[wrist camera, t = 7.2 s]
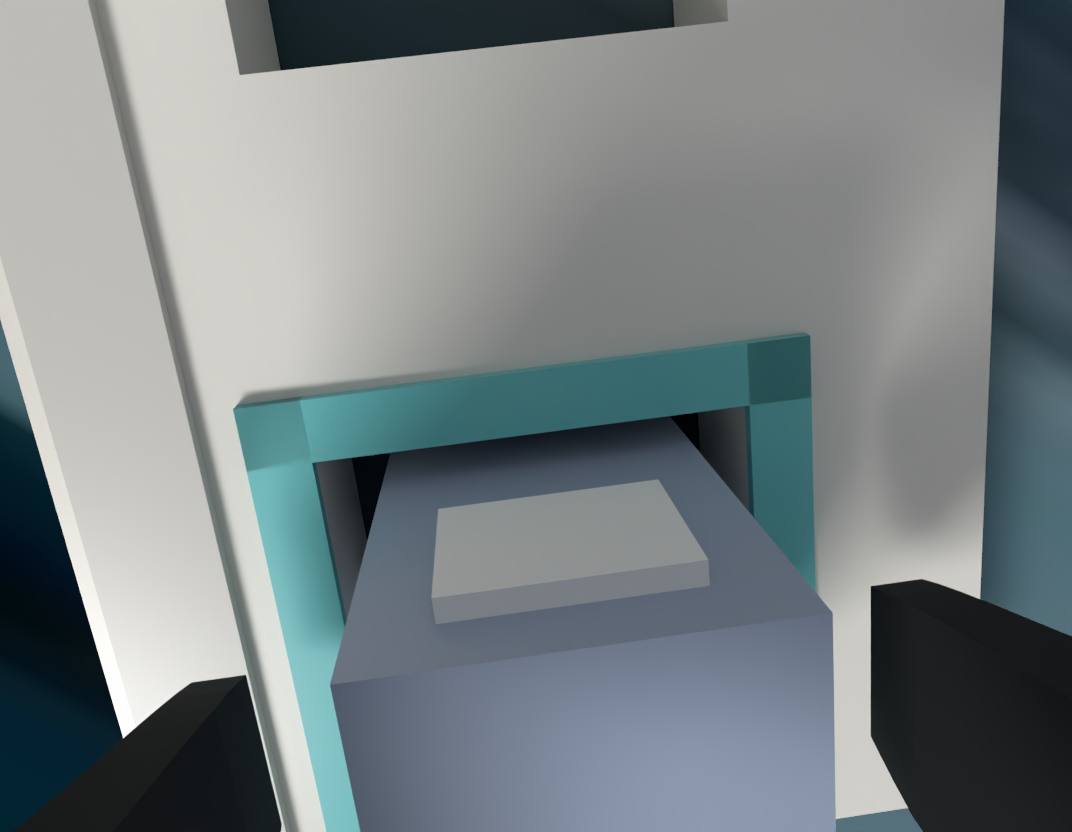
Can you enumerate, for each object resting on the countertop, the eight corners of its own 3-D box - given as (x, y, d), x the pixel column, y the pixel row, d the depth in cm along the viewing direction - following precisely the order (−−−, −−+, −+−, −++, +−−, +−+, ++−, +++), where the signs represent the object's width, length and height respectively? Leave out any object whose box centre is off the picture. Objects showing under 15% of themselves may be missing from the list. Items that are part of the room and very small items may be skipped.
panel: (904, -581, 10) (1051, -831, 8) (893, 700, 15) (979, 807, 13) (-116, -500, 10) (-326, -741, 7) (223, 799, 15) (173, 932, 12)
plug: (649, 377, 13) (831, 584, 7) (667, 616, 15) (838, 994, 8) (394, 410, 13) (323, 657, 7) (434, 650, 14) (408, 1065, 8)
